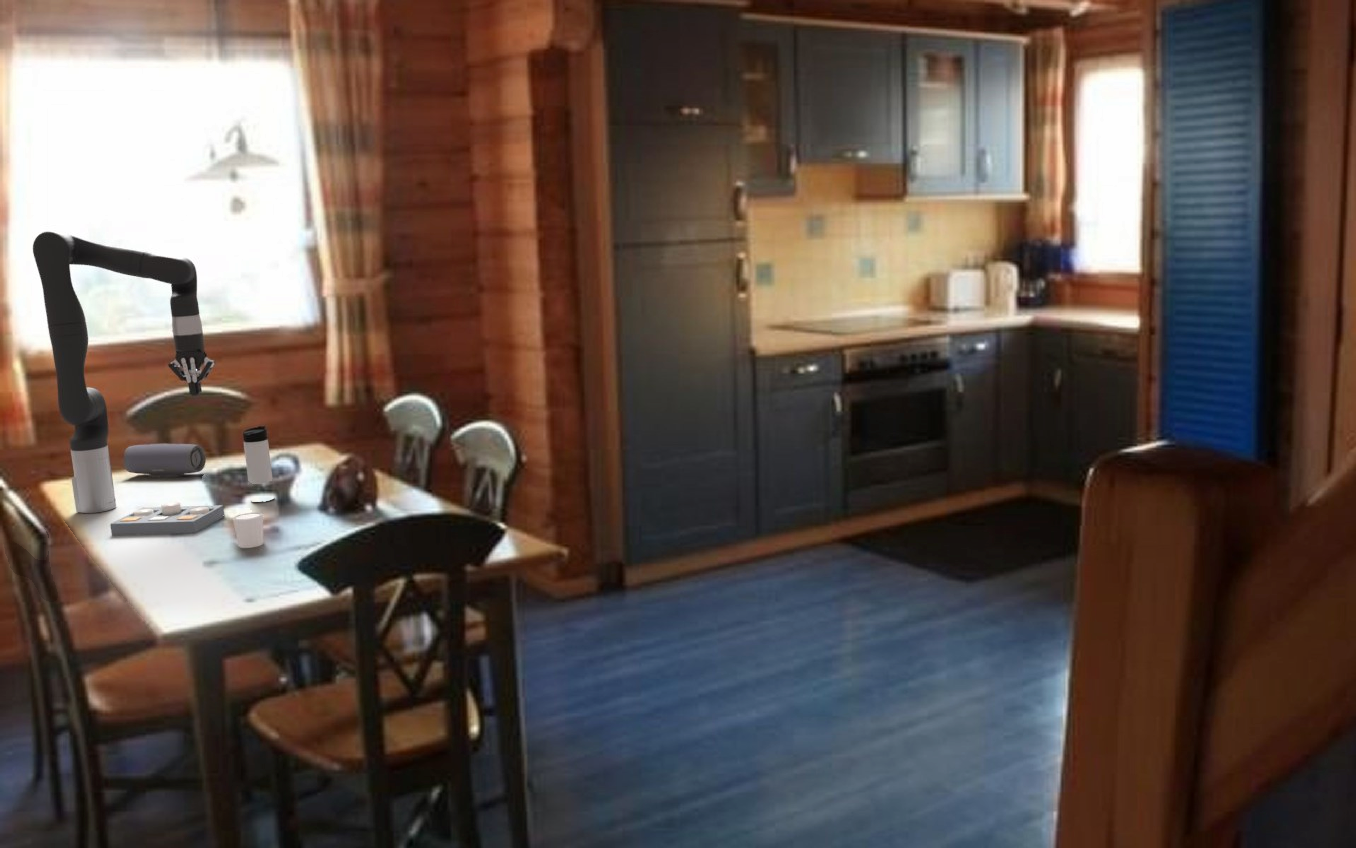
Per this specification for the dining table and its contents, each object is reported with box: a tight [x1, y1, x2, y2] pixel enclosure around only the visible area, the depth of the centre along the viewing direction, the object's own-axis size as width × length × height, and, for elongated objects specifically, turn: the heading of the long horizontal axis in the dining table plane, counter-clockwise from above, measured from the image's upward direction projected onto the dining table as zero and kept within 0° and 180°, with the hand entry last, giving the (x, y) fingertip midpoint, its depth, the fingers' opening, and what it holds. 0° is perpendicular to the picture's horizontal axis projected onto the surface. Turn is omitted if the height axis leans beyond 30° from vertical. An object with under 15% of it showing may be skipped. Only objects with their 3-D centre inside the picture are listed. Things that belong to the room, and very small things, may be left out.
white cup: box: [232, 512, 264, 549], centre depth 307 cm, size 7×7×7 cm
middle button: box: [160, 502, 182, 515], centre depth 332 cm, size 5×5×3 cm
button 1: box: [133, 509, 154, 516], centre depth 333 cm, size 5×5×3 cm
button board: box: [109, 504, 225, 536], centre depth 330 cm, size 22×16×3 cm
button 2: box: [190, 507, 209, 514], centre depth 331 cm, size 5×5×3 cm
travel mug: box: [242, 425, 273, 484], centre depth 352 cm, size 6×7×20 cm
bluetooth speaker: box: [122, 443, 207, 478], centre depth 393 cm, size 23×9×10 cm, turn 77°
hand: (195, 395), depth 353 cm, fingers closed
